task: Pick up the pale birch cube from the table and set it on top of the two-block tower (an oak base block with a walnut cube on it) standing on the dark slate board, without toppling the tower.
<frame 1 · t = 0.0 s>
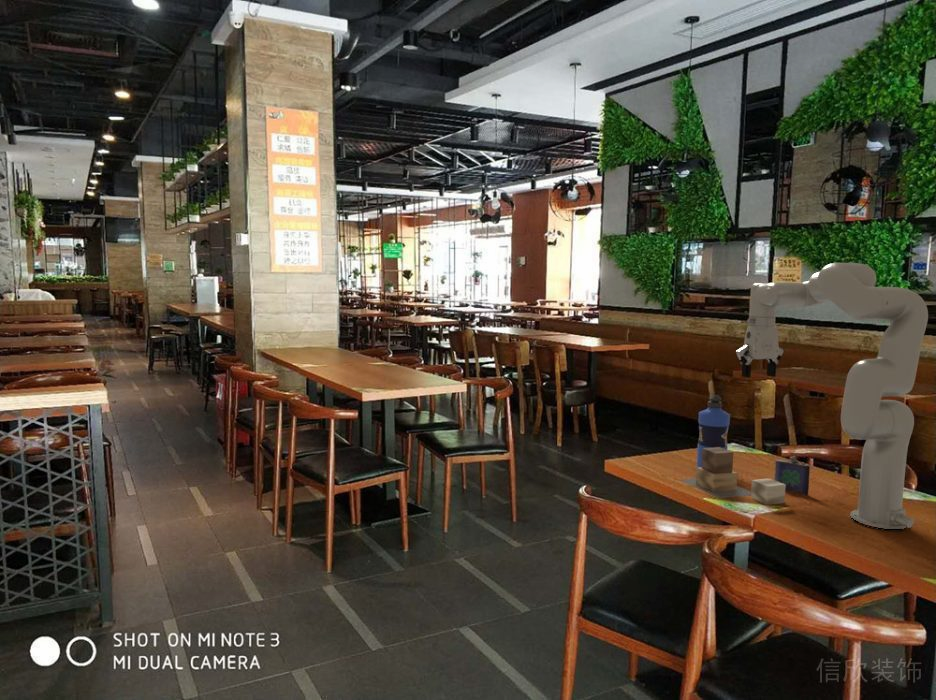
hand: (758, 376, 210), 31 cm above the table, tool pointing down, fingers open, 9 cm apart
slate board: (717, 489, 196), on the table
walnut cube: (716, 470, 195), point 6 cm above the table, touching base block
birch cube: (767, 503, 184), on the table
flask: (790, 492, 194), on the table
base block: (715, 486, 196), point 1 cm above the table, touching slate board, walnut cube
water bottle: (711, 472, 214), on the table
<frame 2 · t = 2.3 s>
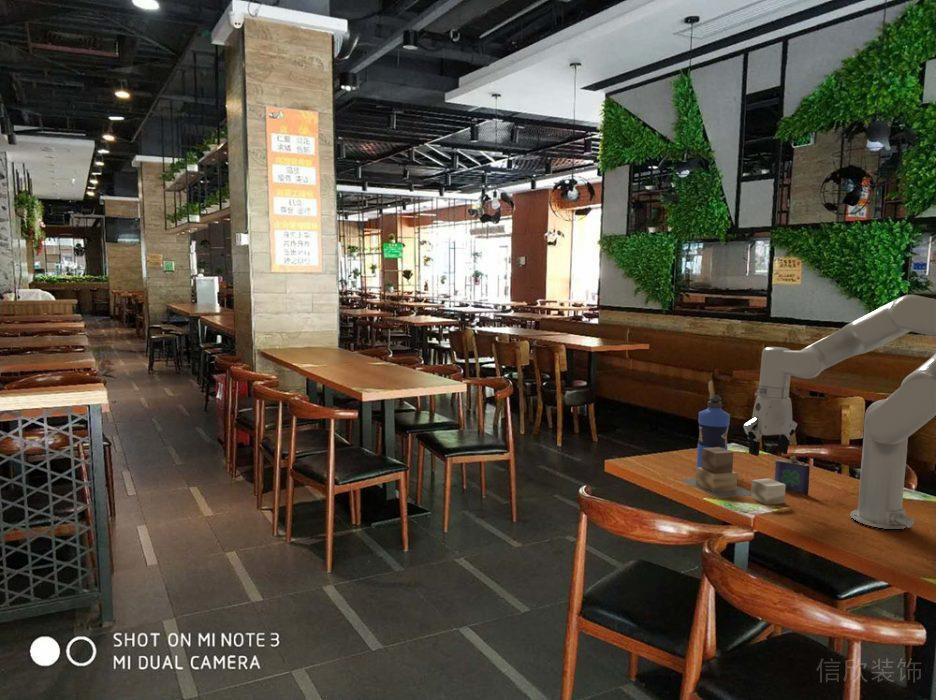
hand: (768, 453, 183), 14 cm above the table, tool pointing down, fingers open, 9 cm apart
nothing on the table moved.
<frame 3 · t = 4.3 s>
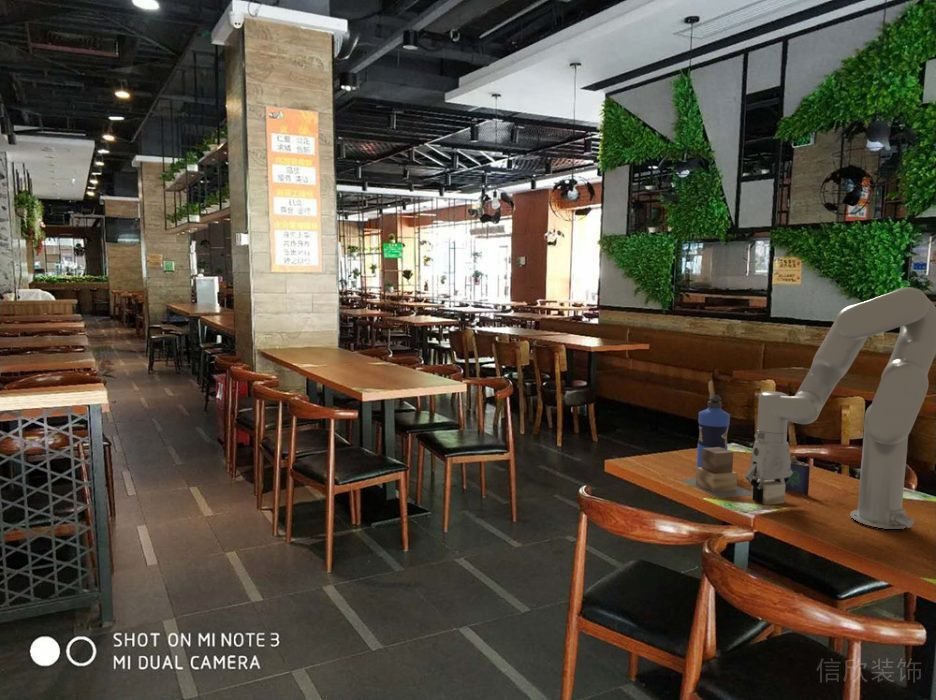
hand: (767, 500, 184), 1 cm above the table, tool pointing down, fingers closed on birch cube, 6 cm apart
birch cube: (767, 503, 184), on the table, touching gripper
everything else where it was.
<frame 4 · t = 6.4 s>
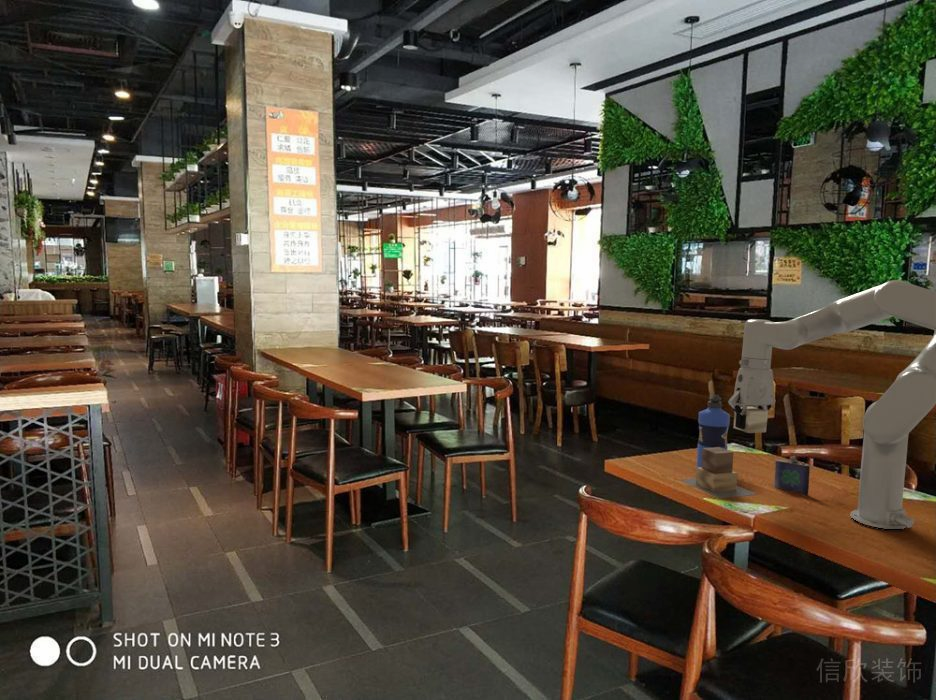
hand: (749, 427, 187), 20 cm above the table, tool pointing down, fingers closed on birch cube, 6 cm apart
birch cube: (749, 430, 187), point 19 cm above the table, touching gripper
everything else where it was.
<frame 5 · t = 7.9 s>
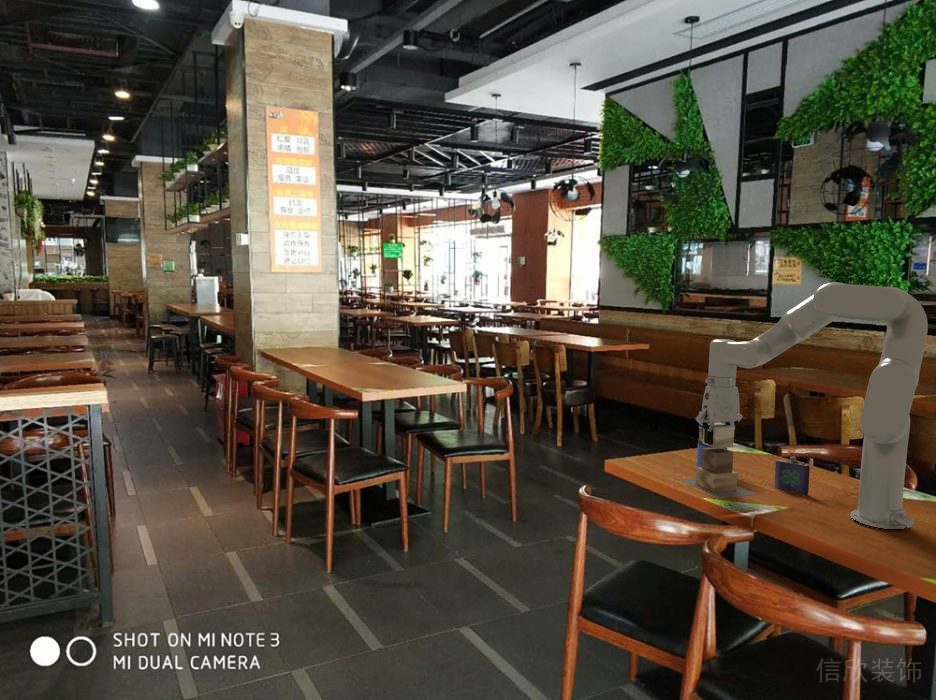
hand: (717, 442, 194), 14 cm above the table, tool pointing down, fingers closed on birch cube, 6 cm apart
birch cube: (717, 445, 194), point 13 cm above the table, touching gripper
everything else where it was.
when the fingers open (13 cm above the table, at t = 8.8 s): birch cube stays where it is, resting on walnut cube.
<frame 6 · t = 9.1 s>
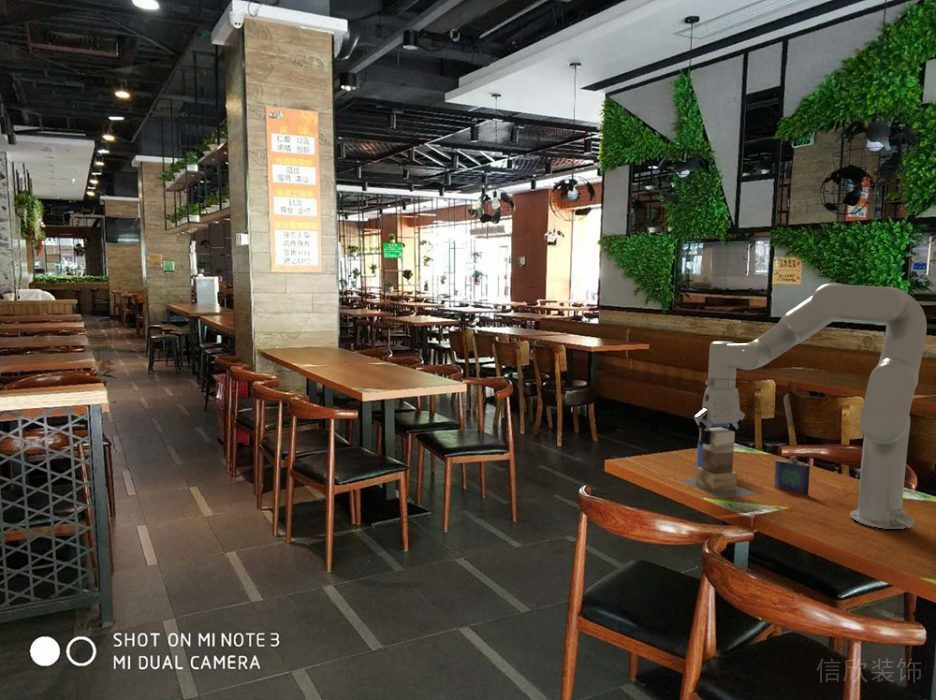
hand: (718, 442, 194), 14 cm above the table, tool pointing down, fingers open, 8 cm apart
walnut cube: (716, 470, 195), point 6 cm above the table, touching base block, birch cube
birch cube: (718, 450, 194), point 12 cm above the table, touching walnut cube
everything else where it was.
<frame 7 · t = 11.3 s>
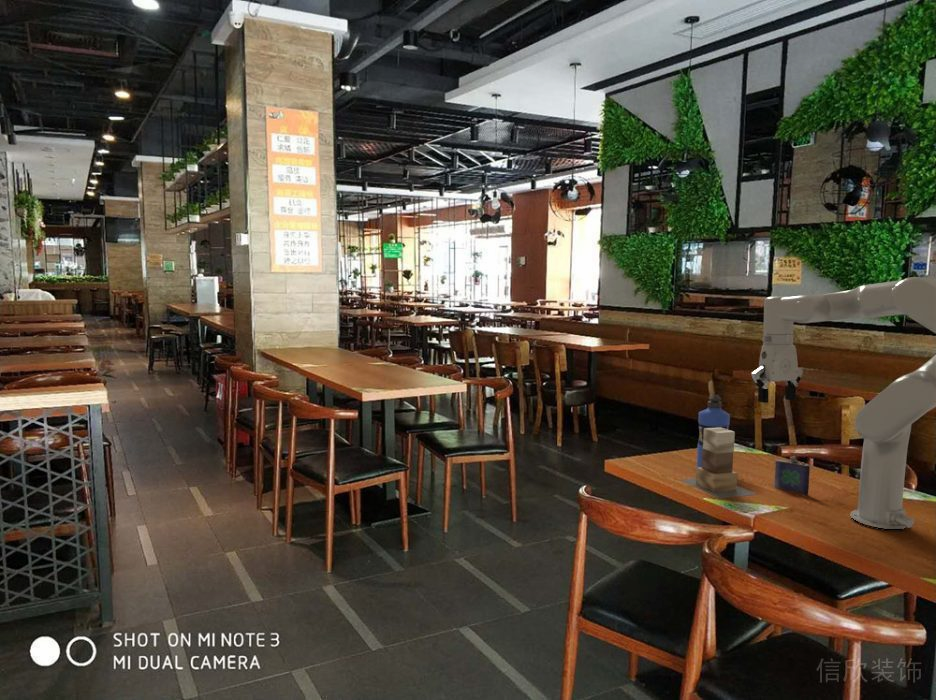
hand: (776, 401, 187), 28 cm above the table, tool pointing down, fingers open, 9 cm apart
nothing on the table moved.
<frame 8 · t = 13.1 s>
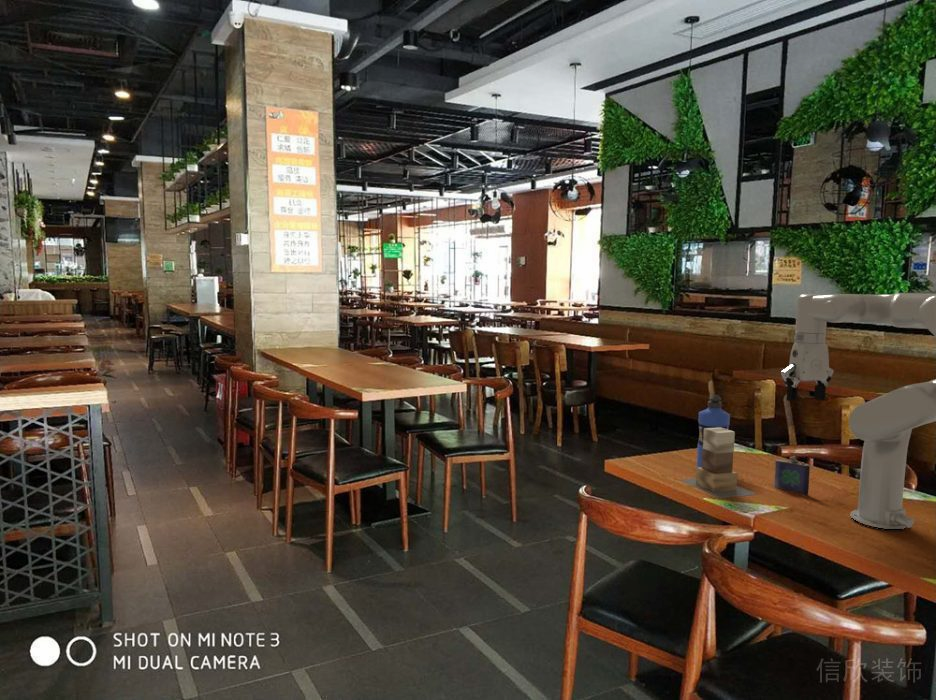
hand: (805, 400, 185), 28 cm above the table, tool pointing down, fingers open, 9 cm apart
nothing on the table moved.
at the end: birch cube 0.1 cm off-centre on the walnut cube, point 6.0 cm above the walnut cube's base; birch cube tilted 0°; walnut cube moved 0.0 cm from its start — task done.
